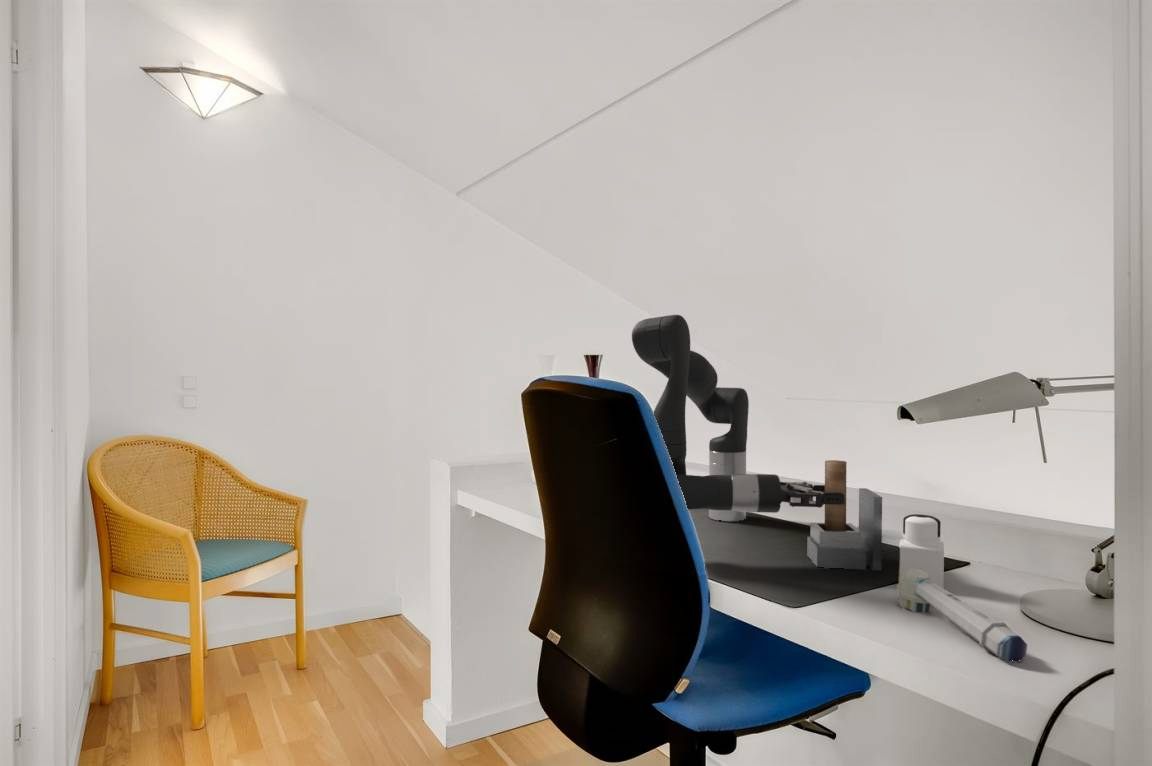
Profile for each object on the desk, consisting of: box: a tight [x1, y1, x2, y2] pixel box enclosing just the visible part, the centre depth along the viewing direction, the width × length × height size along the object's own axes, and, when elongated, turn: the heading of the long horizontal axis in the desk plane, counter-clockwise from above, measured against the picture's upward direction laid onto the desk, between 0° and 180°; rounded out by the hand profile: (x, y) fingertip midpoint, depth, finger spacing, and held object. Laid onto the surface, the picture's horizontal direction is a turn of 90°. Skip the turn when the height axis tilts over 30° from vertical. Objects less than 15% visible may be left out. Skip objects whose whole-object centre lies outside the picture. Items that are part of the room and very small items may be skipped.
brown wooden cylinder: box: [824, 459, 847, 531], centre depth 144 cm, size 4×4×16 cm
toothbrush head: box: [896, 568, 1028, 662], centre depth 108 cm, size 5×7×25 cm
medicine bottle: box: [898, 513, 945, 589], centre depth 131 cm, size 7×7×12 cm
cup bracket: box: [806, 487, 883, 572], centre depth 144 cm, size 10×12×14 cm
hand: (837, 494), depth 144 cm, fingers open, 8 cm apart
